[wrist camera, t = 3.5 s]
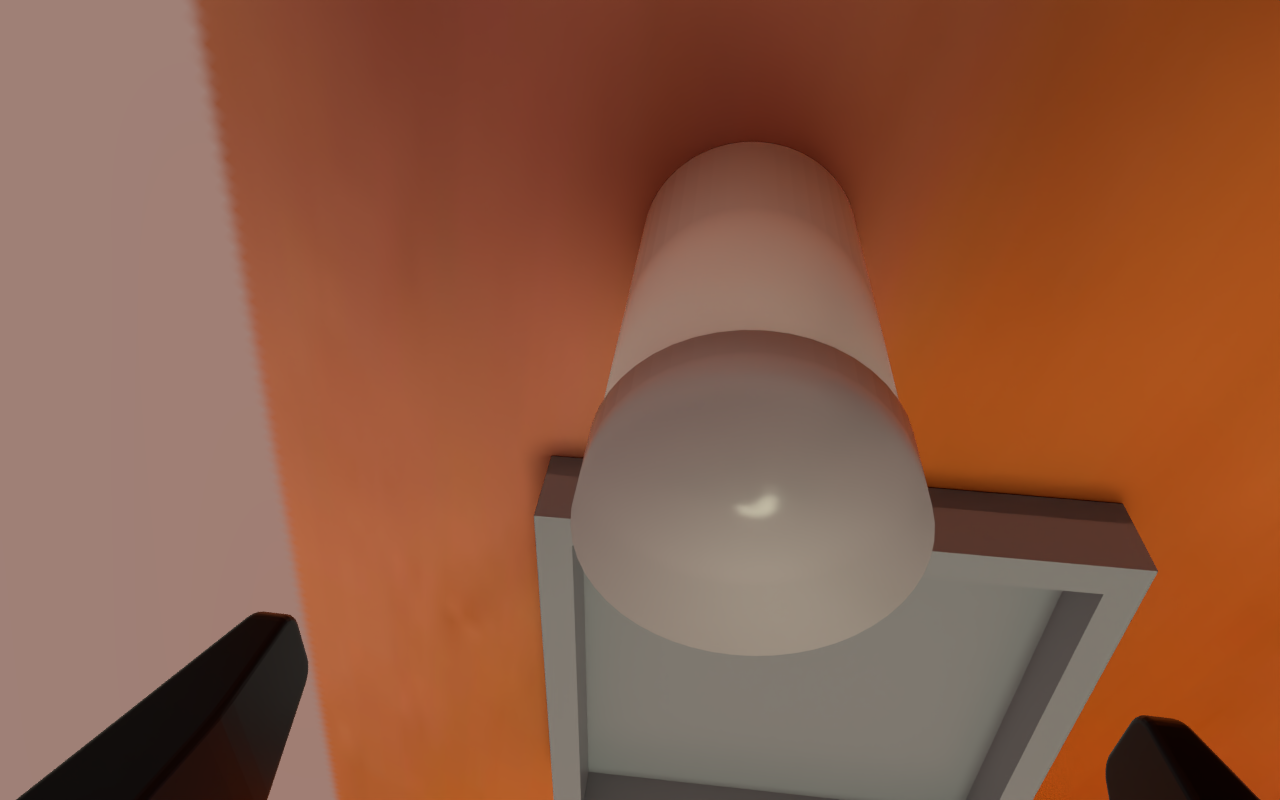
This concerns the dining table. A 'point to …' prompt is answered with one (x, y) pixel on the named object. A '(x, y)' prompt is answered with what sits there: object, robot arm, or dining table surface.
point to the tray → (850, 669)
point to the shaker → (752, 422)
